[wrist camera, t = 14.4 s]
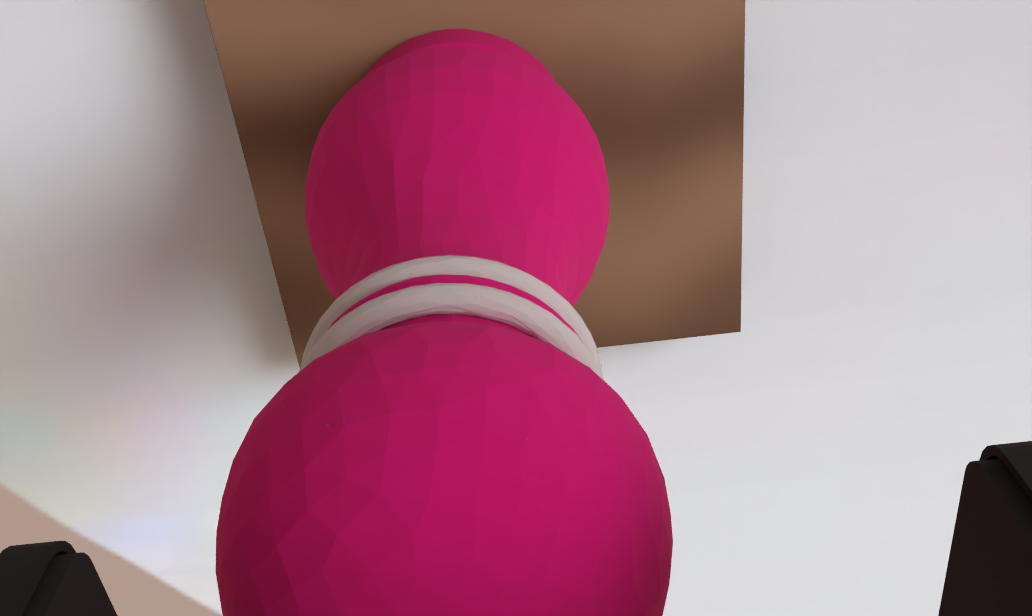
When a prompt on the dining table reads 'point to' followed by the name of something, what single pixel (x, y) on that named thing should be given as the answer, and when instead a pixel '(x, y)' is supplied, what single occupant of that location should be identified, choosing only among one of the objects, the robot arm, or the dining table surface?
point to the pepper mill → (449, 368)
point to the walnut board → (592, 86)
